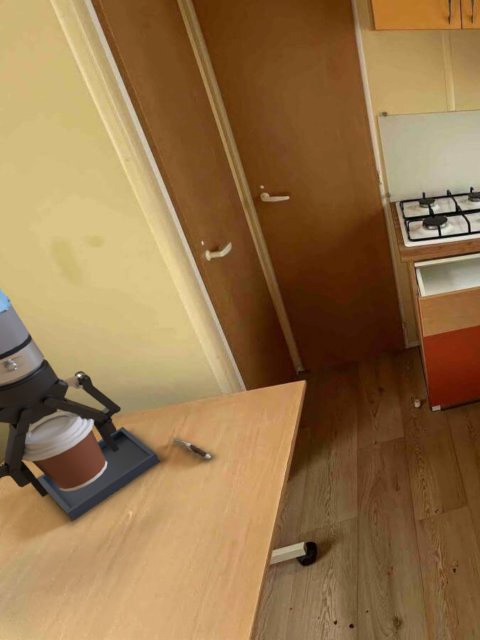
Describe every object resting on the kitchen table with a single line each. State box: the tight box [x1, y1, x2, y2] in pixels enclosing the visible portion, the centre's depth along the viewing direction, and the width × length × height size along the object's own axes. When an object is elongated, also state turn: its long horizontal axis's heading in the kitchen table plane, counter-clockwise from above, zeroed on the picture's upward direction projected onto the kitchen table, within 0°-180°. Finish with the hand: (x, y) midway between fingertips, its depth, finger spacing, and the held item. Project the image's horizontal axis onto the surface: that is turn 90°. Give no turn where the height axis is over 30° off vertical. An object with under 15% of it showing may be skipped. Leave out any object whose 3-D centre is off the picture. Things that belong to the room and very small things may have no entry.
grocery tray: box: [36, 426, 161, 522], centre depth 94 cm, size 16×16×3 cm
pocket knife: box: [172, 437, 212, 460], centre depth 100 cm, size 14×1×2 cm, turn 67°
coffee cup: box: [22, 411, 107, 491], centre depth 72 cm, size 9×9×12 cm
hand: (79, 468), depth 74 cm, fingers closed on coffee cup, 9 cm apart
